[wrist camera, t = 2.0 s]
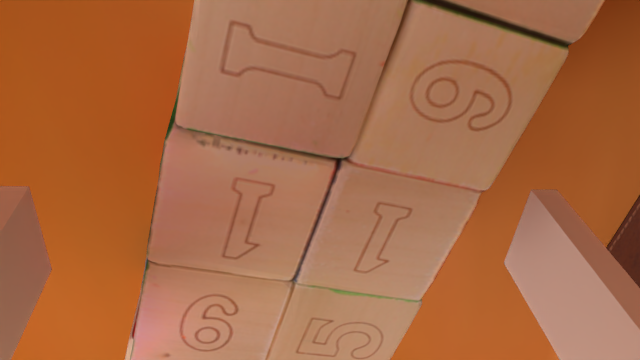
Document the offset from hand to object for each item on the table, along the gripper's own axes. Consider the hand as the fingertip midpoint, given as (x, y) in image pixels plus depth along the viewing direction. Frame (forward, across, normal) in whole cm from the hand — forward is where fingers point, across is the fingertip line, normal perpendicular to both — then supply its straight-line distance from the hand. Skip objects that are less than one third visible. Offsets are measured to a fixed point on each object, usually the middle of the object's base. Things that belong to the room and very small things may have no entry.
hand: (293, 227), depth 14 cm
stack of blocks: (+9, -1, 0) cm, 9 cm away
